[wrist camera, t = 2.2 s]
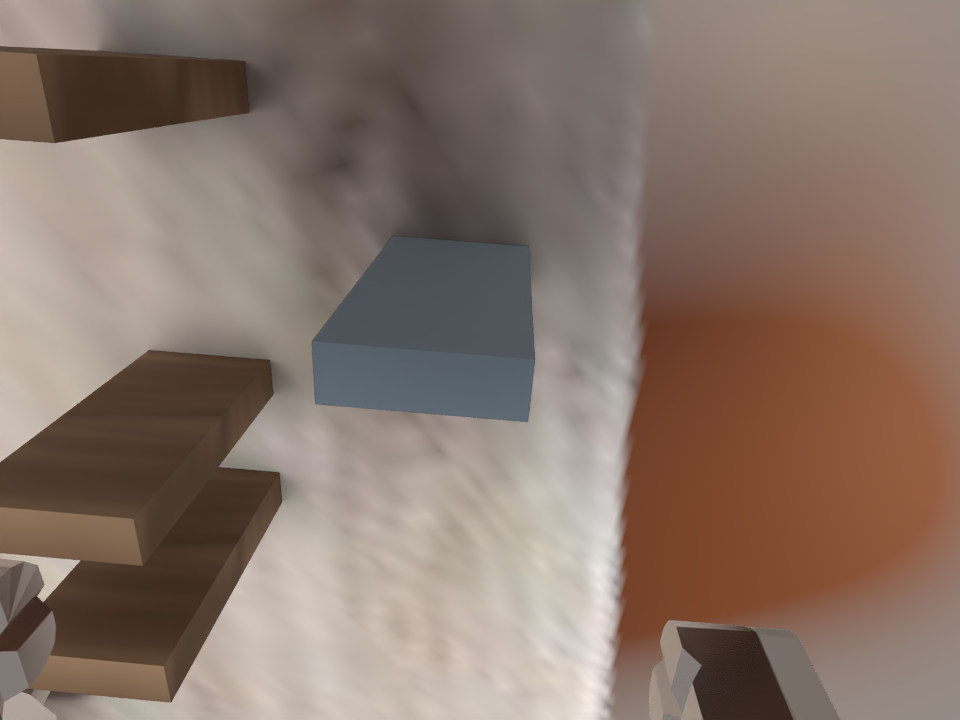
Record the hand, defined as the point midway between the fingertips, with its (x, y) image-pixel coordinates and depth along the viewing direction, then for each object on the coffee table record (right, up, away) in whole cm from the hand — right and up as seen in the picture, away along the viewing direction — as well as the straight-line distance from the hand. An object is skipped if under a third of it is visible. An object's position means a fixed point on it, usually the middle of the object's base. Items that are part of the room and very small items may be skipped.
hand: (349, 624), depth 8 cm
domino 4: (+1, +7, +15) cm, 17 cm away
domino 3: (-10, -2, +20) cm, 22 cm away
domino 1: (-9, +13, +13) cm, 20 cm away
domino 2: (-9, +3, +18) cm, 20 cm away
